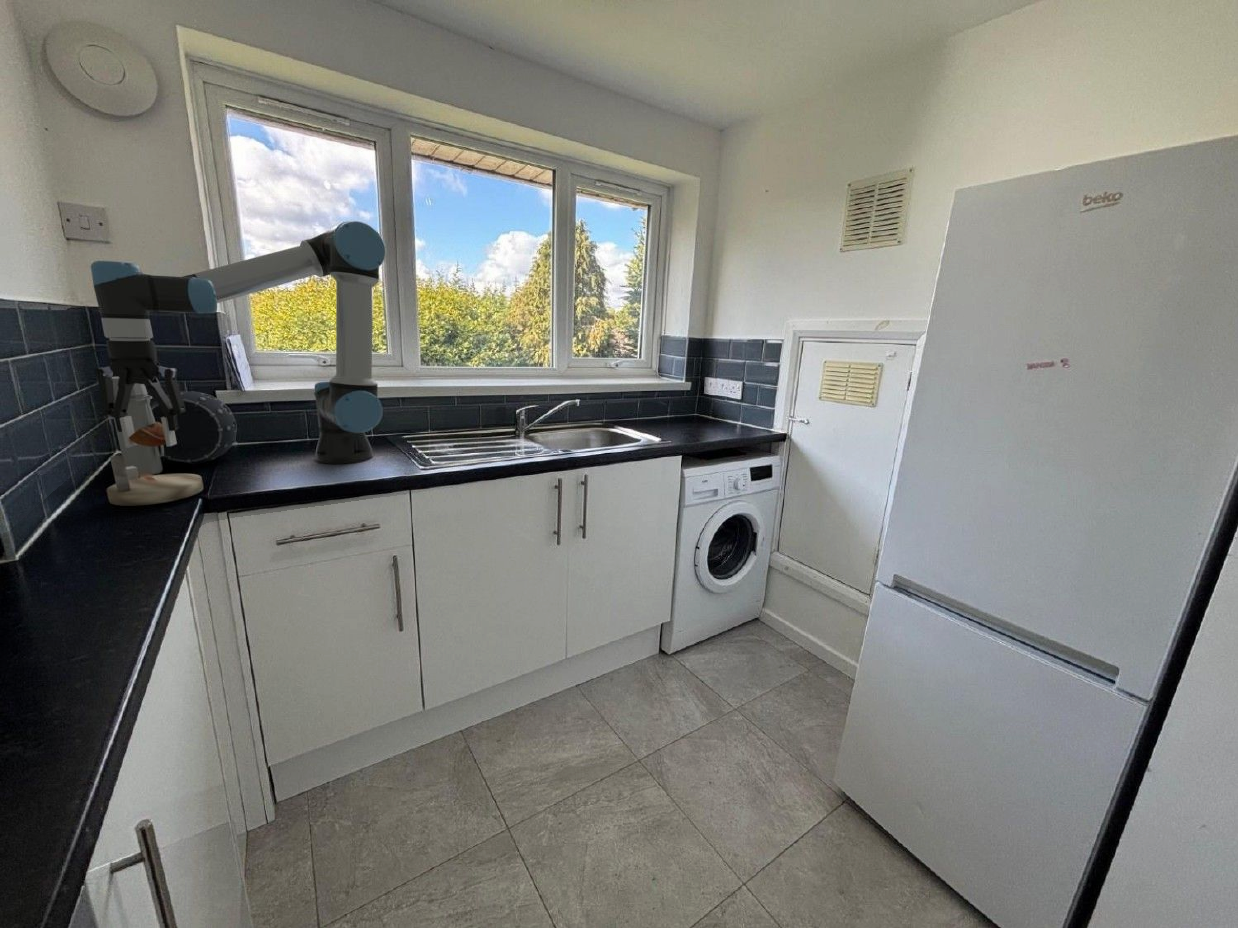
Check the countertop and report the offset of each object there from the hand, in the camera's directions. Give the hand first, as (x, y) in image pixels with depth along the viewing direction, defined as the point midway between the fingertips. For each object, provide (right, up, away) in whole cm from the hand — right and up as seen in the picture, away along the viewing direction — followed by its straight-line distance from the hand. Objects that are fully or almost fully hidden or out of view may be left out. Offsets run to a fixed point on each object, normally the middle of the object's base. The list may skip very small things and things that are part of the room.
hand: (151, 445), depth 114 cm
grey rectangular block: (-12, -10, +8) cm, 17 cm away
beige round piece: (-1, -11, +2) cm, 11 cm away
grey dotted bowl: (-15, -4, +31) cm, 35 cm away
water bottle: (-18, -7, +19) cm, 27 cm away
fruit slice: (0, 0, 0) cm, 0 cm away
